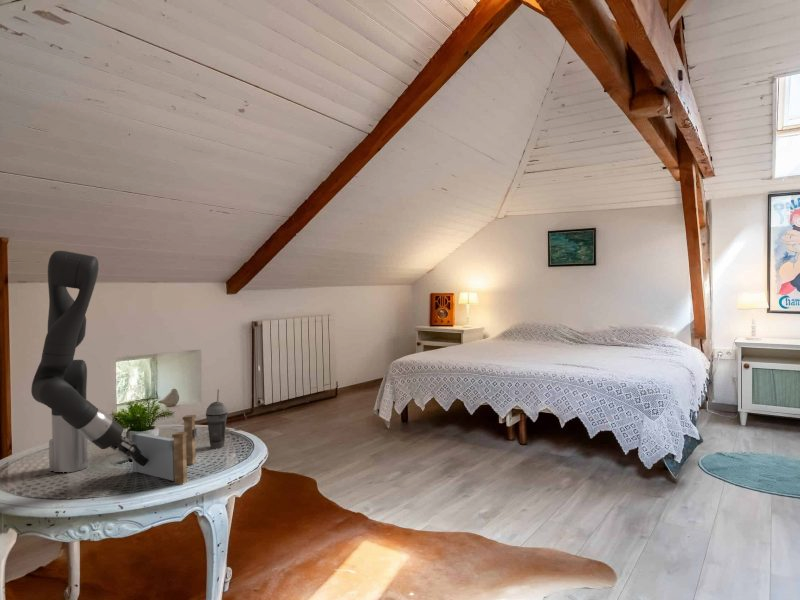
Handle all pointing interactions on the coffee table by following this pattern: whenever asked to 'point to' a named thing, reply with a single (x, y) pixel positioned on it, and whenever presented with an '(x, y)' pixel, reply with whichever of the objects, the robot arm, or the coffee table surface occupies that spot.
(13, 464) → the coffee table surface
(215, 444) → the beverage cup
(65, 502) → the coffee table surface
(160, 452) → the gate
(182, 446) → the hinge post
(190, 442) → the post
